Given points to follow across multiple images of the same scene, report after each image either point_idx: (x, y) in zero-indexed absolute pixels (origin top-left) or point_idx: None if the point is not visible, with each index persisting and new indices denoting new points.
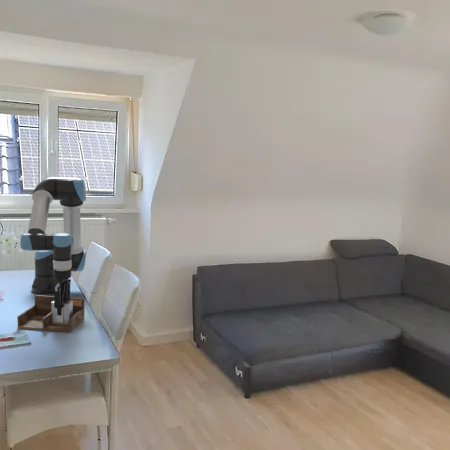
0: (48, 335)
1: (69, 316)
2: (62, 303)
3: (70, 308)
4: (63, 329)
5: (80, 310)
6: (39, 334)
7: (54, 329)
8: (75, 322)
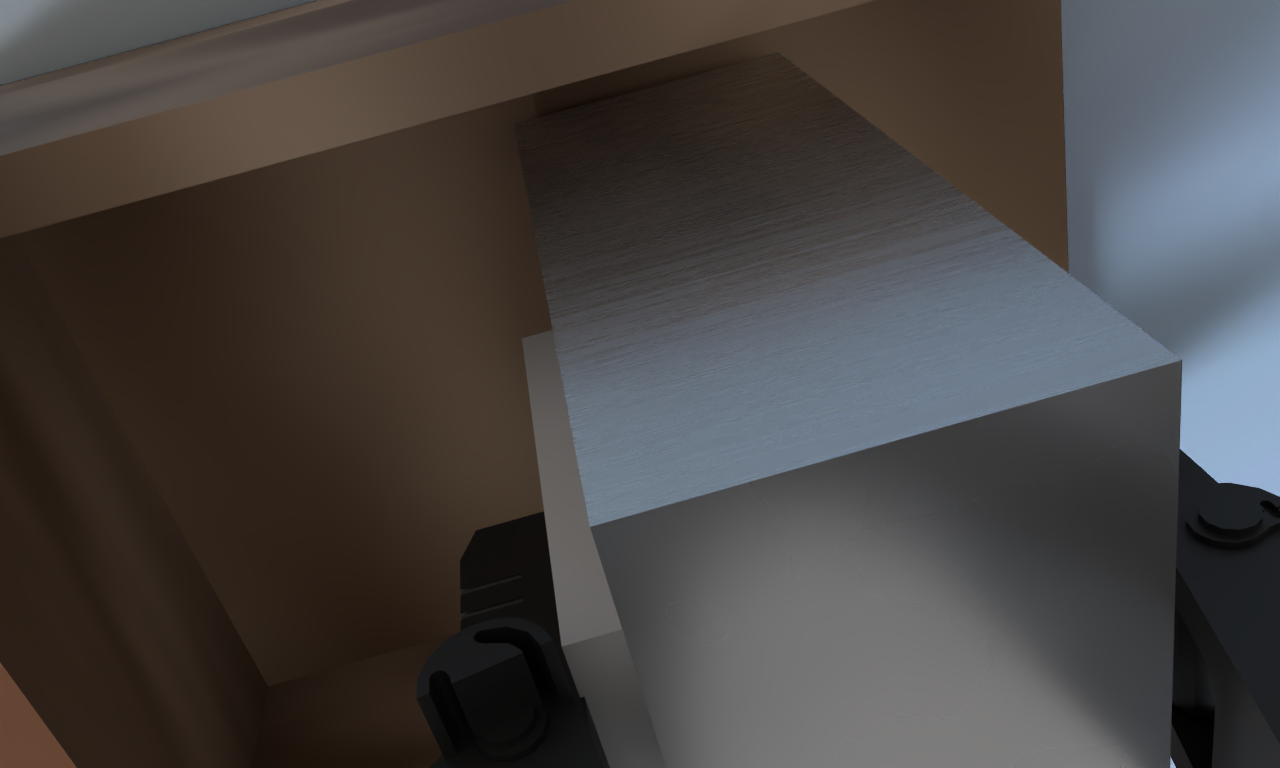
0: (1239, 209)
1: (843, 131)
2: (1268, 652)
3: (845, 266)
4: (1012, 46)
5: (43, 184)
6: (1219, 394)
7: (1067, 246)
8: None
